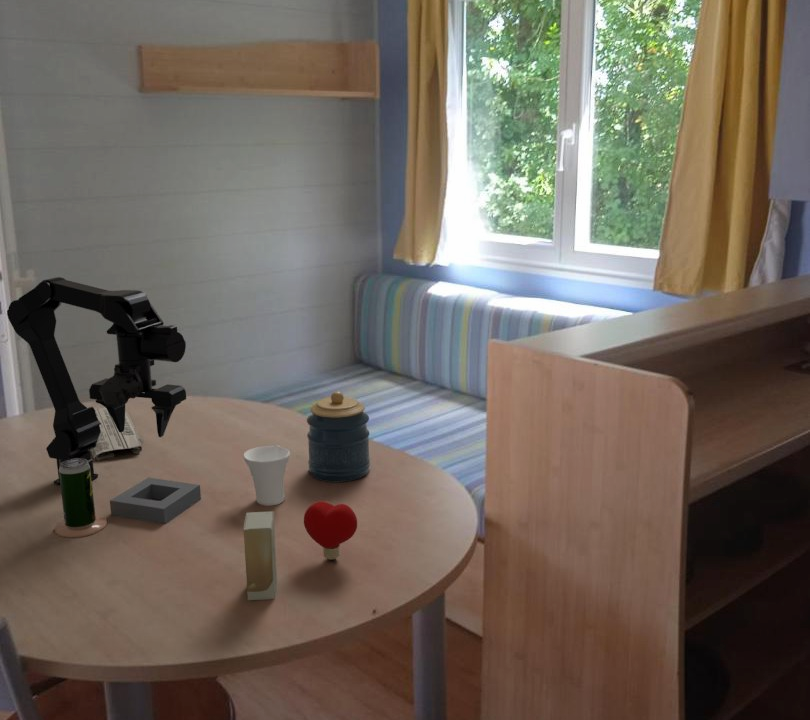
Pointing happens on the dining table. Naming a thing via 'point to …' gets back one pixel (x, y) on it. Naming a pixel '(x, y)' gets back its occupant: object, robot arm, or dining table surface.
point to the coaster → (65, 532)
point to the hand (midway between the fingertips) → (141, 434)
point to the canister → (338, 439)
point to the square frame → (143, 508)
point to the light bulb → (330, 526)
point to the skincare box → (260, 555)
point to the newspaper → (115, 436)
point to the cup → (268, 472)
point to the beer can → (77, 494)
